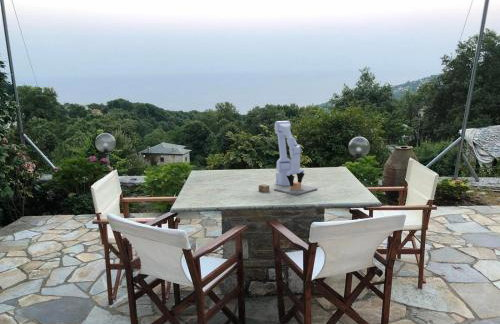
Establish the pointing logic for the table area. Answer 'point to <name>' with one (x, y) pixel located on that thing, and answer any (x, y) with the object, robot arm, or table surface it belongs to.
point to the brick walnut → (264, 188)
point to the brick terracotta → (296, 185)
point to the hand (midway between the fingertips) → (295, 184)
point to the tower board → (295, 192)
